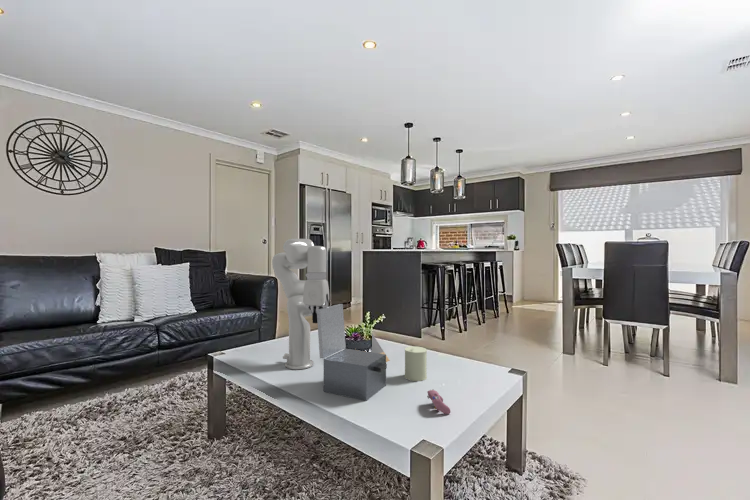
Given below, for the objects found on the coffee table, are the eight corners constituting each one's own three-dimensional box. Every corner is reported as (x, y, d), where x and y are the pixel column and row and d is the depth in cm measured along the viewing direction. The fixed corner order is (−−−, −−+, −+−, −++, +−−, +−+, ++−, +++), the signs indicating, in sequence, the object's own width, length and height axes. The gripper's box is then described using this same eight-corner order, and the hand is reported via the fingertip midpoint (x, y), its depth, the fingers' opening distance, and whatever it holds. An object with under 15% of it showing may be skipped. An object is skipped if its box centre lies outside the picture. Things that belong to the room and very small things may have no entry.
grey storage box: (323, 391, 133) (323, 359, 133) (346, 377, 147) (346, 348, 147) (373, 402, 124) (373, 367, 124) (392, 386, 138) (392, 355, 138)
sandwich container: (378, 365, 165) (379, 332, 165) (354, 358, 175) (355, 327, 175) (390, 360, 171) (390, 329, 171) (367, 354, 181) (367, 324, 181)
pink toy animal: (431, 406, 124) (423, 389, 124) (443, 400, 125) (434, 382, 124) (439, 420, 114) (430, 401, 114) (452, 413, 115) (442, 394, 115)
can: (399, 377, 148) (400, 348, 148) (413, 371, 155) (413, 344, 155) (418, 383, 142) (418, 352, 142) (431, 377, 149) (431, 348, 149)
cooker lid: (323, 358, 133) (316, 358, 135) (345, 348, 148) (339, 347, 149) (319, 309, 134) (313, 309, 135) (342, 303, 148) (336, 304, 150)
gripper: (295, 276, 144) (295, 322, 144) (326, 278, 138) (326, 326, 138) (307, 275, 151) (307, 319, 151) (337, 276, 144) (337, 322, 144)
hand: (316, 322), depth 144 cm, fingers closed
